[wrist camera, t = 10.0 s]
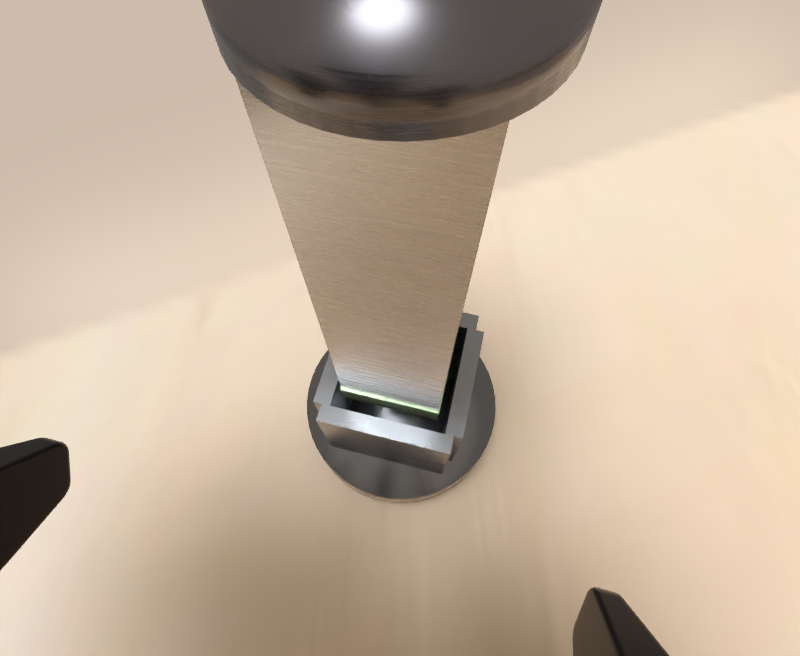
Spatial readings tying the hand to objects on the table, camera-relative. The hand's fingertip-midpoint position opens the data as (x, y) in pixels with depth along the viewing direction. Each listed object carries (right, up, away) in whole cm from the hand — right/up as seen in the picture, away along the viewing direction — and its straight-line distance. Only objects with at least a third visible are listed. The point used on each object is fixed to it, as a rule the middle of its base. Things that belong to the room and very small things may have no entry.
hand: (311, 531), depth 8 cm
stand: (+2, 0, +14) cm, 14 cm away
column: (+2, +2, +9) cm, 9 cm away
